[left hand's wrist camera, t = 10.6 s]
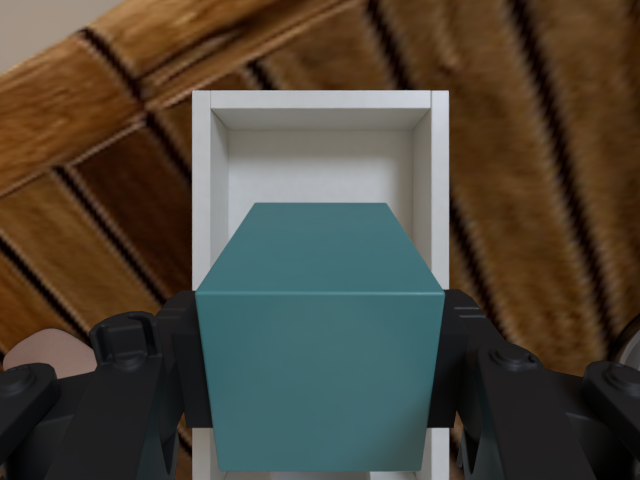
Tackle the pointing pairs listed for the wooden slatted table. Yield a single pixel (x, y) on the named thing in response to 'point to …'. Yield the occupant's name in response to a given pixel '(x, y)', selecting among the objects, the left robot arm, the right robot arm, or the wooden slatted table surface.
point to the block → (320, 341)
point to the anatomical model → (53, 353)
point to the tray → (320, 189)
